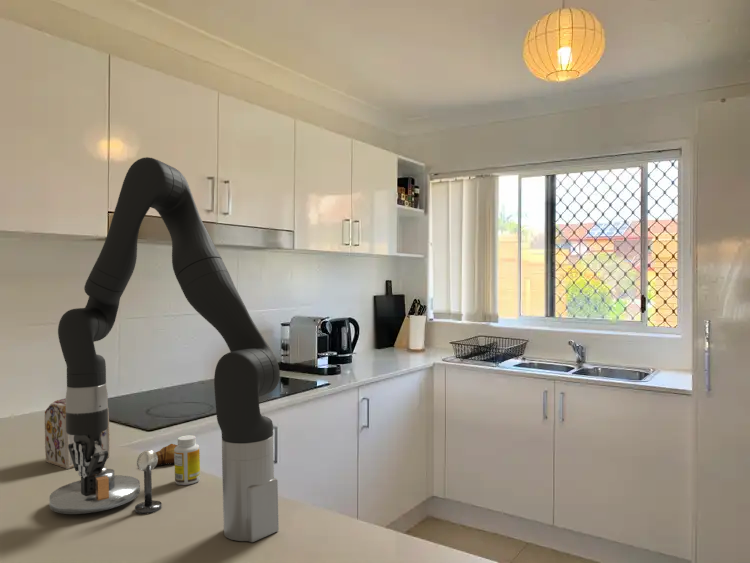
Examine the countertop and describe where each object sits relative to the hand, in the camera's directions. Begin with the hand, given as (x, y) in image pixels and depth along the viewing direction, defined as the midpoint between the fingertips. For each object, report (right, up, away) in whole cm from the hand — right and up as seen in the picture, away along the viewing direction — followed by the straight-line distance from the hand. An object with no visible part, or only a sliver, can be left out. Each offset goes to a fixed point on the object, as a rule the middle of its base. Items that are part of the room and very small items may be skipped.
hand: (88, 494), depth 113 cm
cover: (-1, -1, +6) cm, 6 cm away
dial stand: (+11, -4, +2) cm, 12 cm away
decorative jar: (-21, -5, +37) cm, 43 cm away
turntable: (-1, -3, +6) cm, 7 cm away
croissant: (+5, -5, +33) cm, 34 cm away
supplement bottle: (+14, -4, +18) cm, 23 cm away
